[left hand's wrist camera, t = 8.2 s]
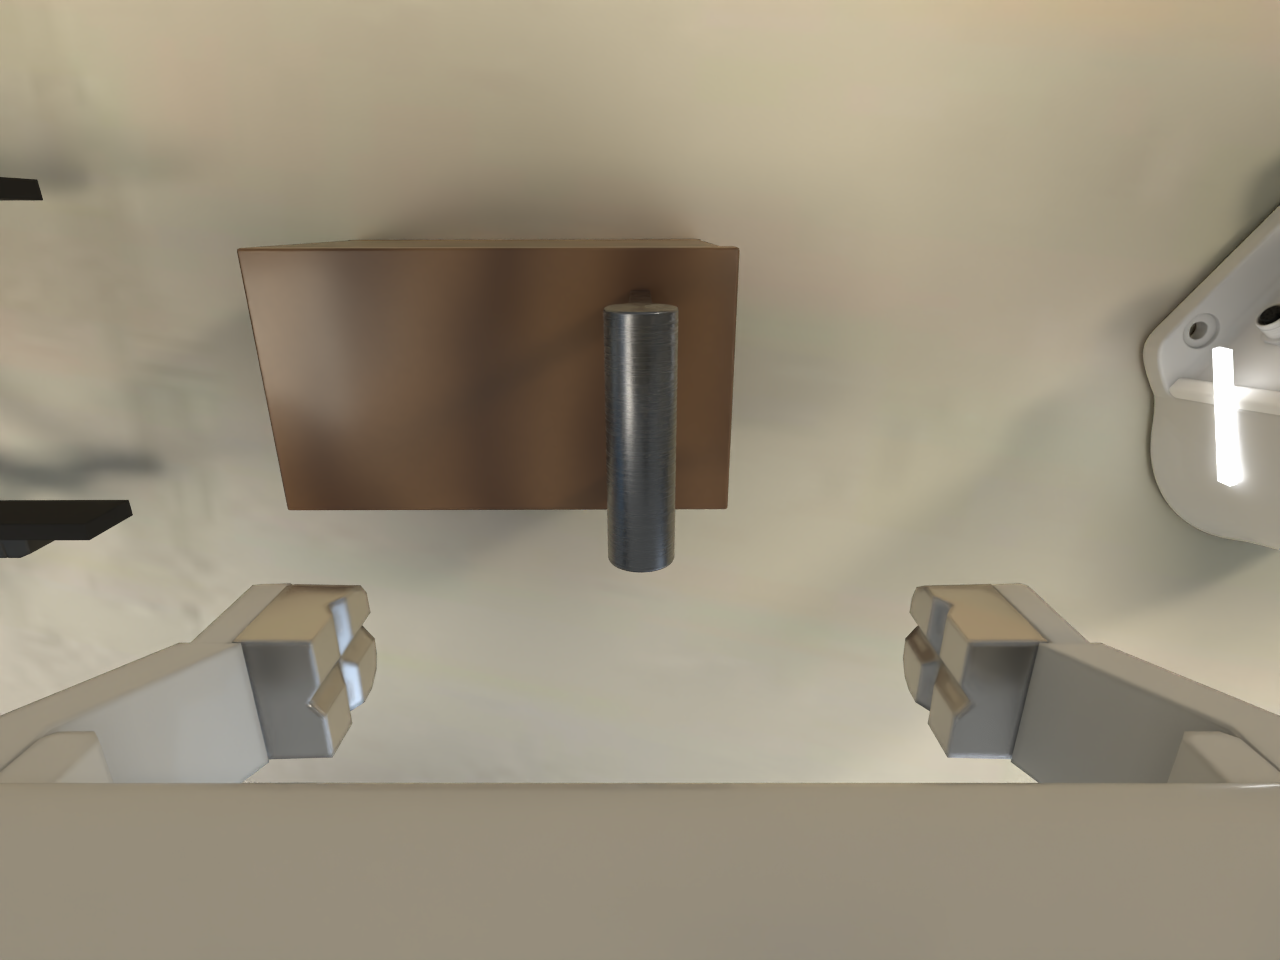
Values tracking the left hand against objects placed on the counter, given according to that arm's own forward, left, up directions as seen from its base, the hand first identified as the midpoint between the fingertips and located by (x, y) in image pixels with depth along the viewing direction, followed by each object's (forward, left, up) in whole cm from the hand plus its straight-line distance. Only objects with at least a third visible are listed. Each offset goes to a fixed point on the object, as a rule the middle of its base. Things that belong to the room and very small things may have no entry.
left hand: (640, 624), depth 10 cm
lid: (+2, -5, -17) cm, 18 cm away
